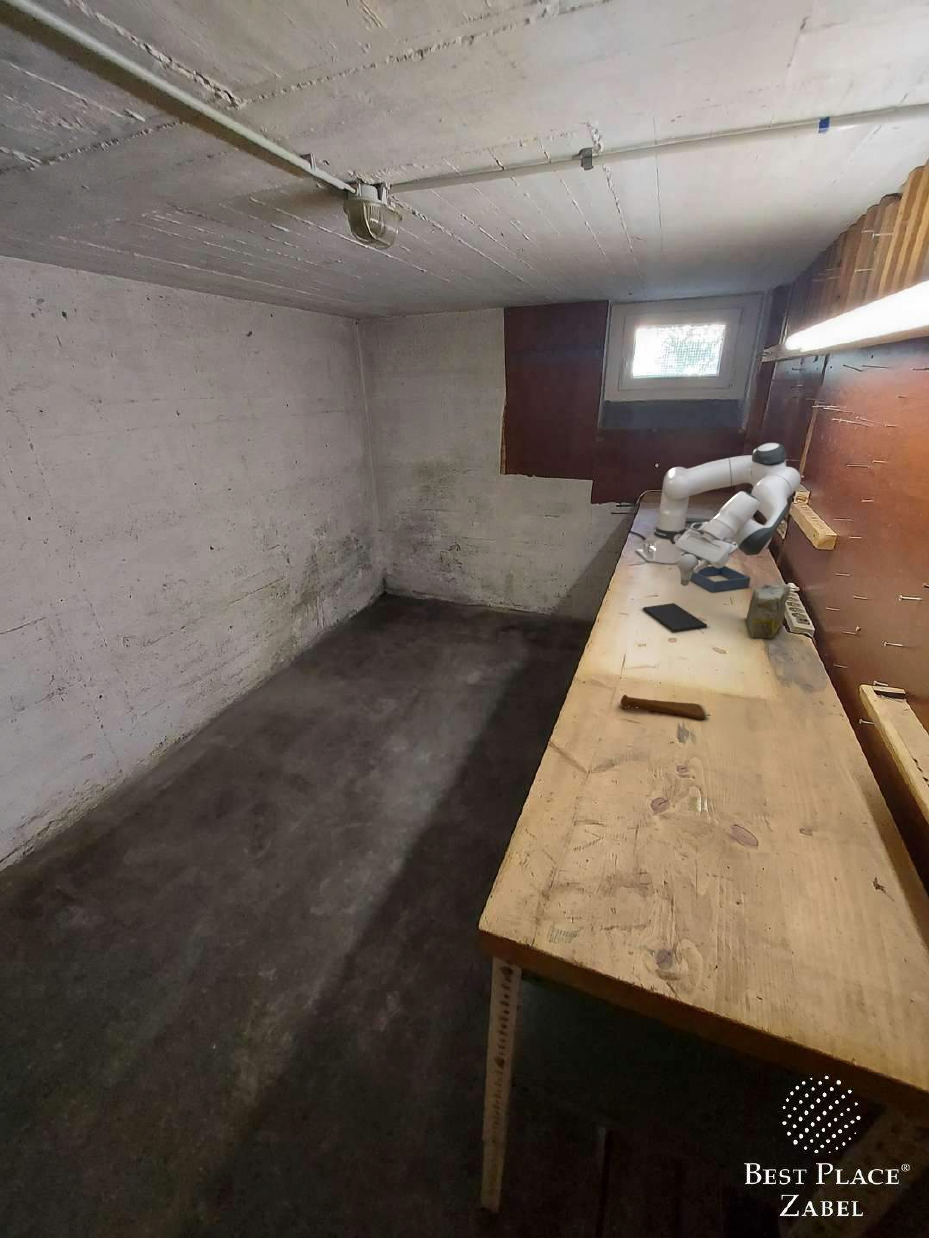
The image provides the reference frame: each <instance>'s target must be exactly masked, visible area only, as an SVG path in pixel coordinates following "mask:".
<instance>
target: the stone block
mask: <svg viewBox="0 0 929 1238" xmlns="http://www.w3.org/2000/svg"><path fill="white" fill-rule="evenodd" d="M790 593H791V586H789V585H785V584H783V585H781V584H772V583H771V584H769V583H765V584H764V585H761V586H759V587H757V588H755V589H753V592H752V595H751V598H750V601H749V605H748V610H747V614H746V622H747V625H748V630H749V634H750V637H751V638H752V639H754V638H760V639H761V638H763V639H771V638H773V637H774V636H775V635H776V634H777V633H778V630H779V629H780V627H782V626H783V622H784V620H785V616H786V615H785V613H786V610H787V609H786V606H787V601H788V599H789V597H790V596H789V595H790Z"/></svg>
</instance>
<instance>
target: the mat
mask: <svg viewBox="0 0 929 1238" xmlns="http://www.w3.org/2000/svg"><path fill="white" fill-rule="evenodd" d="M642 611H643V612H645V613H647V614H648V615H649V616H650V617H652V618H653V619H654V620H656V621H657V622H659V623H660V624H661V625H662V626H663V627H665V628H666V629H668V630H669V631H671V632H672V633H679V632H686V631H691V630H698V629H705V628H707V626H708V624H706V623H705V622H704V621H703V620H701V619H699V618H698V617H696V616H695V615H693V614H692V613H690V612H689V611H687V610H685V609H684V608H683V607H681V606H679V605H678V604H677V603H675V602H672V603H665V604H664V603H663V604H657V605H650V606H643V608H642Z"/></svg>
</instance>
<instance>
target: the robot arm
mask: <svg viewBox="0 0 929 1238" xmlns="http://www.w3.org/2000/svg"><path fill="white" fill-rule="evenodd" d="M801 480H802V479H801V474H800V472H799V471H798V470H797V469H796V468H794V467H791V466H787V452H786V449H785V447H784V445H783V444H781V443H779V442H767V443H764V444H760V445H758V446H757V447H756V448H755V449H753V451H752V454H751V455H750V454H749V455H738V456H732V457H727V458H722V459H717V460H713V461H709V462H705V463H702V464H698V465H696V466H692V467H689V468H685V467H683V466H675V467H671V469H669V470H668V471H667V472H666V473H665V475H664V477H663V482H662V490H661V497H660V505H659V512H658V519H657V526H653V529H654V532H653V534H652V535H650V536H649V537H647V538H646V537H645V536H644V535H642V534H640V533H638V532H635V531H632V530H630V526H627V531H628V532H629V533H631V534H634V535H637V536H639V537H641V538H642V539H644V540H643V545H642V547H640V548H637V549H636V552H637V554H639V555H640V556H641V557H642V558H643V559H645V561H647V562H652V563H660V564H669V565H671V564H676V565H677V566H678V560H679V558H680V557H681V556H683V555H685V554H692V555H694V556H696V558H697V559H698V561H700V563H698V565H697V566H695V565H694V566H693V568H691V571H692V572H694V573H698V572H699V571H700V570H701V569H704V568H706V567H707V566H714V567H716V568H722V567H723V566H726V564H727V563H729V561H730V560H731V558H732V556H733V555H734V553H735V552H736V551H737V550H739V551H741V552H742V553H743V554H744V555H746V556H757V555H759V554H761V553H763V552H764V551H765V550H766V549H767V548H768V546H769V545H770V543H771V541H772V538H773V537H774V535H775V533H776V531H777V530H778V529H779V527H780V525H781V524H782V522H783V521H784V519H785V518H786V515H787V514H788V512H789V510H790V505H789V503H788V499H789V498H790V497H791V496H792V495H793V494H794V493H795V492H796V490H797V489H798V487H799V485H800V483H801ZM741 484H750V485H752V486H751V487H749V491H750V492H747V491H743V490H742V491H738V493H736V494H734V496H732V497H731V498H730V499H729V500H728V501H727V502H726V503H725V504H724V505H723V506H722V507H720V508H719V509H718V511H717V512H716V513H715V514H714V515H713V516H714V517H713V518H712V519H711V520H710V521H709V522H703V523H693V524H692V525H691V526H690V528H689V529H687V531H686V532H685V529H686V527H685V522H686V516H687V514H688V510H689V509H688V508H689V499H690V497H691V496H696V495H698V494H701V493H705V492H708V491H712V490H718V489H721V488H722V489H723V488H728V487H734V486H736V485H741ZM757 511H758V512H760V513H761V514H762V515H763V516H764V518H765V519H766V522H765V523H764V524H762V523H758V521H755V520H754V519H752V517H754V515H755V513H757Z"/></svg>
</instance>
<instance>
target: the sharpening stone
mask: <svg viewBox="0 0 929 1238" xmlns="http://www.w3.org/2000/svg"><path fill="white" fill-rule="evenodd" d="M713 517H714V515H710V514H697V513H687V516H686V522H685V532H686V531H687V530H688V529H691V528H690V526H691V525H692V524H693V523H703V522H709V521H710V520H711V519H712V518H713ZM687 528H688V529H687Z"/></svg>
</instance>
